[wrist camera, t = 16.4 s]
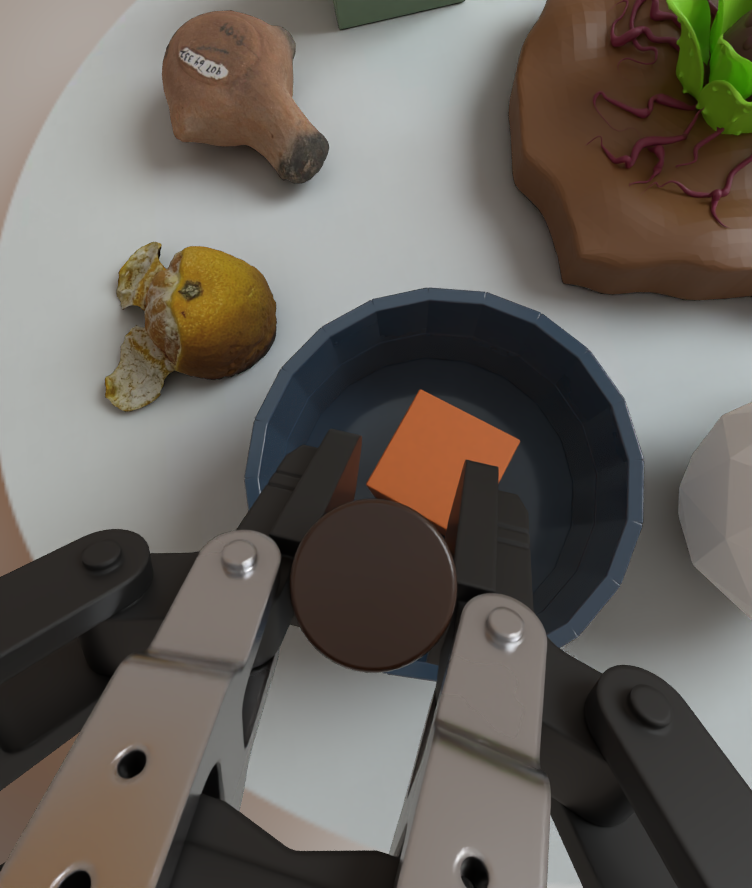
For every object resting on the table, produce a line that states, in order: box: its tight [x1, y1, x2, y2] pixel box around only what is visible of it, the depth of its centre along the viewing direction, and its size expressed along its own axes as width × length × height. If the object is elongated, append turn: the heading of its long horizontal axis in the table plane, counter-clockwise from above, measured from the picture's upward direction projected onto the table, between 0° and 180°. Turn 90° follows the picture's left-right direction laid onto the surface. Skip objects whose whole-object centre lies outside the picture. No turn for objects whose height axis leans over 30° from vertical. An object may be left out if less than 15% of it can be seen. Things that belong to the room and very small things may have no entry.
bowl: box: [244, 288, 644, 682], centre depth 19 cm, size 13×13×6 cm
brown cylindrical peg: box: [290, 499, 457, 673], centre depth 11 cm, size 3×3×9 cm
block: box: [366, 390, 520, 536], centre depth 19 cm, size 4×4×4 cm
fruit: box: [105, 242, 277, 412], centre depth 22 cm, size 8×8×4 cm
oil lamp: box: [162, 10, 329, 183], centre depth 24 cm, size 9×4×8 cm
